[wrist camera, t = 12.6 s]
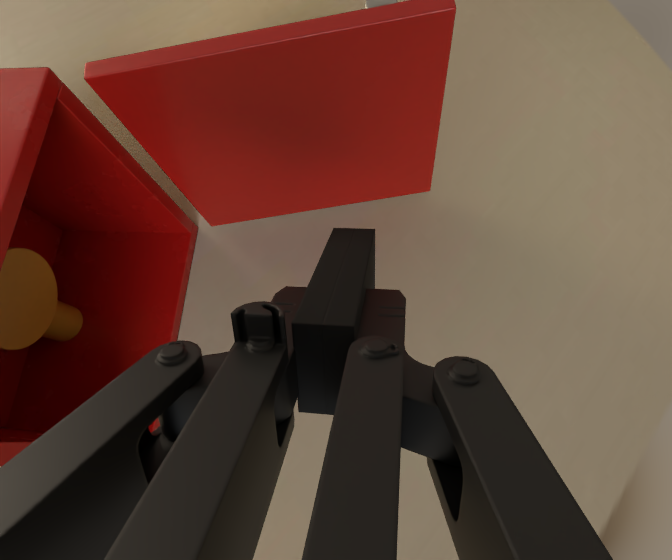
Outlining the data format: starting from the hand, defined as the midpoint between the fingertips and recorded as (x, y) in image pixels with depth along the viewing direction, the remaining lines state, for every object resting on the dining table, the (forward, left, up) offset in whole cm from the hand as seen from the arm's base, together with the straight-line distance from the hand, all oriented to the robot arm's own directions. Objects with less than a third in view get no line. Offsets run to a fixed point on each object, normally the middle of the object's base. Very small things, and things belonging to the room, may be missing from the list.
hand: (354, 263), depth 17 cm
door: (+8, -7, -10) cm, 14 cm away
